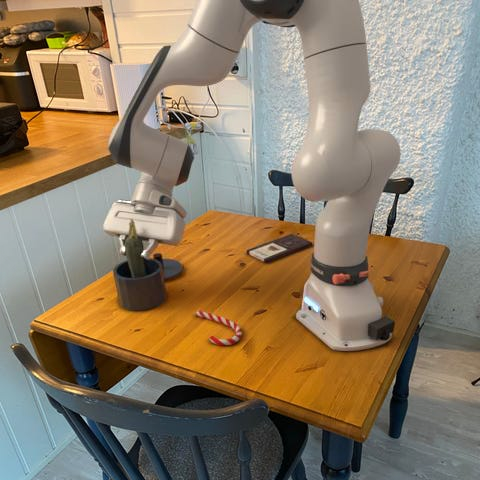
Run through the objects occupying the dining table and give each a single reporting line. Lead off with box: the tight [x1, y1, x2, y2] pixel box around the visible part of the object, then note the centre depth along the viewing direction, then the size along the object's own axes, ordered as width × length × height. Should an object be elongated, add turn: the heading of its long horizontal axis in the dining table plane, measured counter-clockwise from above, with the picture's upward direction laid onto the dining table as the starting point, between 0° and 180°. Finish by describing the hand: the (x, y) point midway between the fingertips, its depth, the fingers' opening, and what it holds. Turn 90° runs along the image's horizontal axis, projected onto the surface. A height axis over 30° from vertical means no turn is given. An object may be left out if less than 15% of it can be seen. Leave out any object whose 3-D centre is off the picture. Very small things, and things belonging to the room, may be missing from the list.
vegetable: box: [125, 218, 147, 278], centre depth 111 cm, size 4×4×20 cm
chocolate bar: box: [246, 233, 313, 264], centre depth 138 cm, size 9×1×18 cm
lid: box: [152, 252, 184, 281], centre depth 127 cm, size 13×13×5 cm
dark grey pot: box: [112, 257, 167, 312], centre depth 114 cm, size 12×12×8 cm
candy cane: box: [195, 310, 243, 346], centre depth 104 cm, size 8×1×15 cm
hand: (133, 256), depth 110 cm, fingers open, 4 cm apart
